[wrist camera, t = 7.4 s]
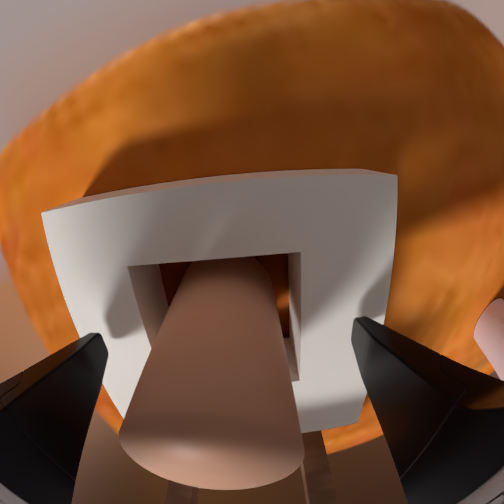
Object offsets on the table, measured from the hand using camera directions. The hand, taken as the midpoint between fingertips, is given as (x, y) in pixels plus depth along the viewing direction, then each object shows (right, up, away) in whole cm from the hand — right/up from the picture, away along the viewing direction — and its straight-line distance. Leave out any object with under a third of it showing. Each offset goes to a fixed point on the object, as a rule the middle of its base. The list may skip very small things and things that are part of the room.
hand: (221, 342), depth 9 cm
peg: (0, +1, +3) cm, 4 cm away
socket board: (0, +1, +3) cm, 4 cm away
